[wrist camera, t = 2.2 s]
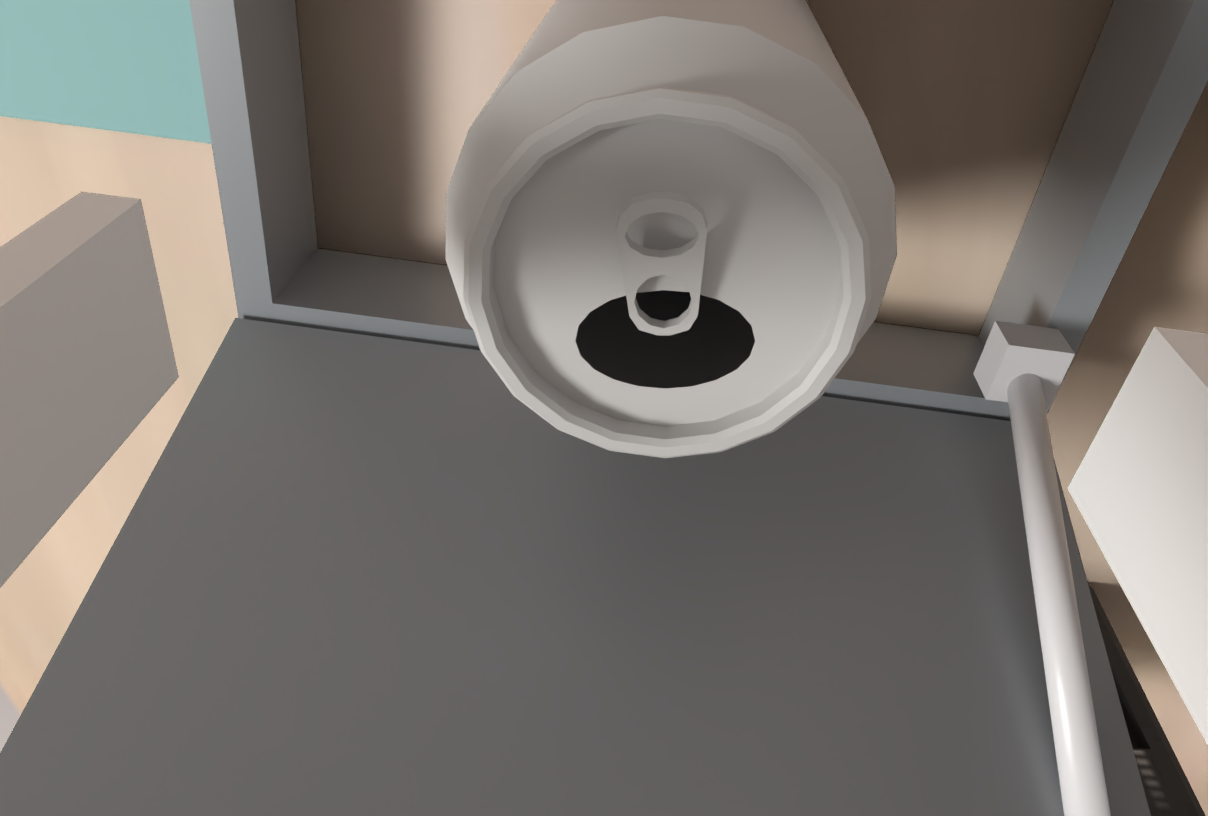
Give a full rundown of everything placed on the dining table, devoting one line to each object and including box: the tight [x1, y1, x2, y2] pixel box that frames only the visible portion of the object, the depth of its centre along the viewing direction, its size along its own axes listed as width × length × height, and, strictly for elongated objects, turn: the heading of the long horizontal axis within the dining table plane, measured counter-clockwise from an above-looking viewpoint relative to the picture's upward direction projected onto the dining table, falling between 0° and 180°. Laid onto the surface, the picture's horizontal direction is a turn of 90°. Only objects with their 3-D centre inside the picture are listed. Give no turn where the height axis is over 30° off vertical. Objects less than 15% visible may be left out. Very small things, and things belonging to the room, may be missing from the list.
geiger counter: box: [1089, 587, 1205, 816], centre depth 27 cm, size 10×4×15 cm, turn 92°
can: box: [446, 0, 897, 458], centre depth 18 cm, size 8×8×12 cm
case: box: [0, 0, 1208, 816], centre depth 17 cm, size 22×18×17 cm
